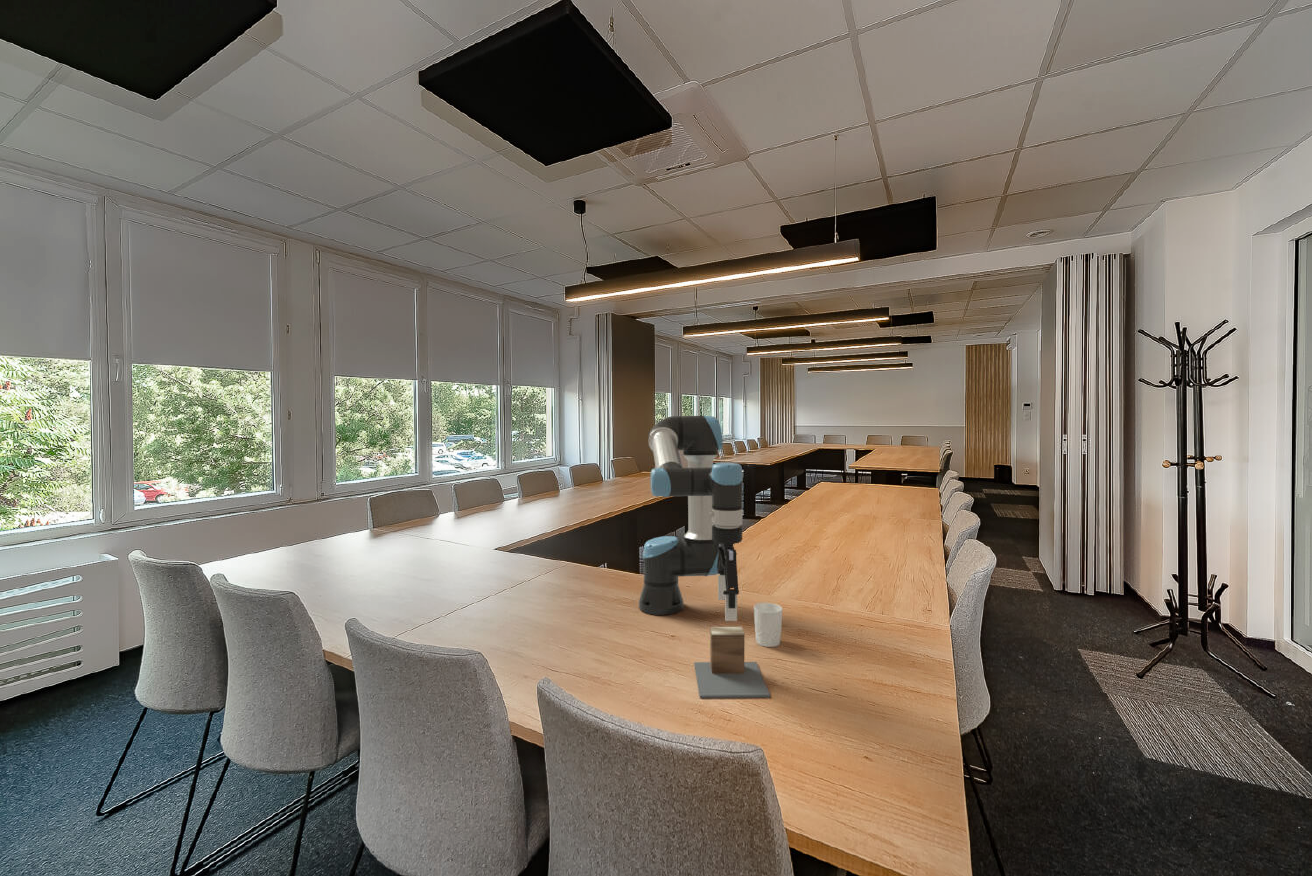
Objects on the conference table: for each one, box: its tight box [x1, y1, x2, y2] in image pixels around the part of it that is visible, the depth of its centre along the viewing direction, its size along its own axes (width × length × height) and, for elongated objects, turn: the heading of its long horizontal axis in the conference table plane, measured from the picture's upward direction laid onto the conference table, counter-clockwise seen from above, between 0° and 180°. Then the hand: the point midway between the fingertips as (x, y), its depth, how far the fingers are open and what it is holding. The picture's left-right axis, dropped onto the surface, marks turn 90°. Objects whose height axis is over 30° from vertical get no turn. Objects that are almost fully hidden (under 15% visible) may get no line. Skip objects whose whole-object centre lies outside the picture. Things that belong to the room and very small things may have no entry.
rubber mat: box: [693, 661, 771, 699], centre depth 124 cm, size 16×16×1 cm
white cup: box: [753, 602, 783, 648], centre depth 145 cm, size 8×8×10 cm
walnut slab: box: [709, 626, 745, 673], centre depth 128 cm, size 4×8×10 cm, turn 90°
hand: (727, 609), depth 128 cm, fingers open, 13 cm apart
